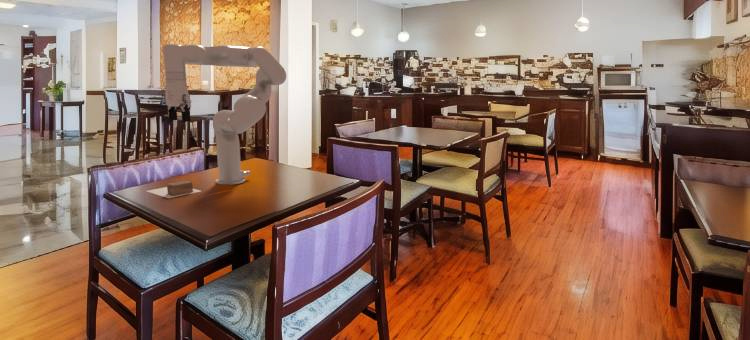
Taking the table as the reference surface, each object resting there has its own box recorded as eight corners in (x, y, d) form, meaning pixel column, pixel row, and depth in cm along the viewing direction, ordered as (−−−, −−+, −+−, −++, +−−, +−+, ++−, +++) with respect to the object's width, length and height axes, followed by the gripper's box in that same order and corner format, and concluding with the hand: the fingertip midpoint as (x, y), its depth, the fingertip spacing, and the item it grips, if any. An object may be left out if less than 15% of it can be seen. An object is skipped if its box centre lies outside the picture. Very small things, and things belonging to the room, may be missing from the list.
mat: (178, 185, 195) (178, 184, 195) (202, 192, 184) (202, 190, 184) (145, 192, 184) (145, 190, 184) (168, 199, 173) (168, 198, 173)
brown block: (167, 193, 179) (166, 184, 178) (186, 190, 185) (186, 180, 185) (173, 195, 177) (172, 185, 176) (192, 191, 183) (192, 182, 182)
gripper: (155, 77, 181) (159, 120, 185) (178, 77, 171) (182, 122, 174) (173, 77, 187) (177, 119, 190) (196, 77, 177) (200, 121, 180)
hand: (179, 120), depth 182 cm, fingers open, 9 cm apart
